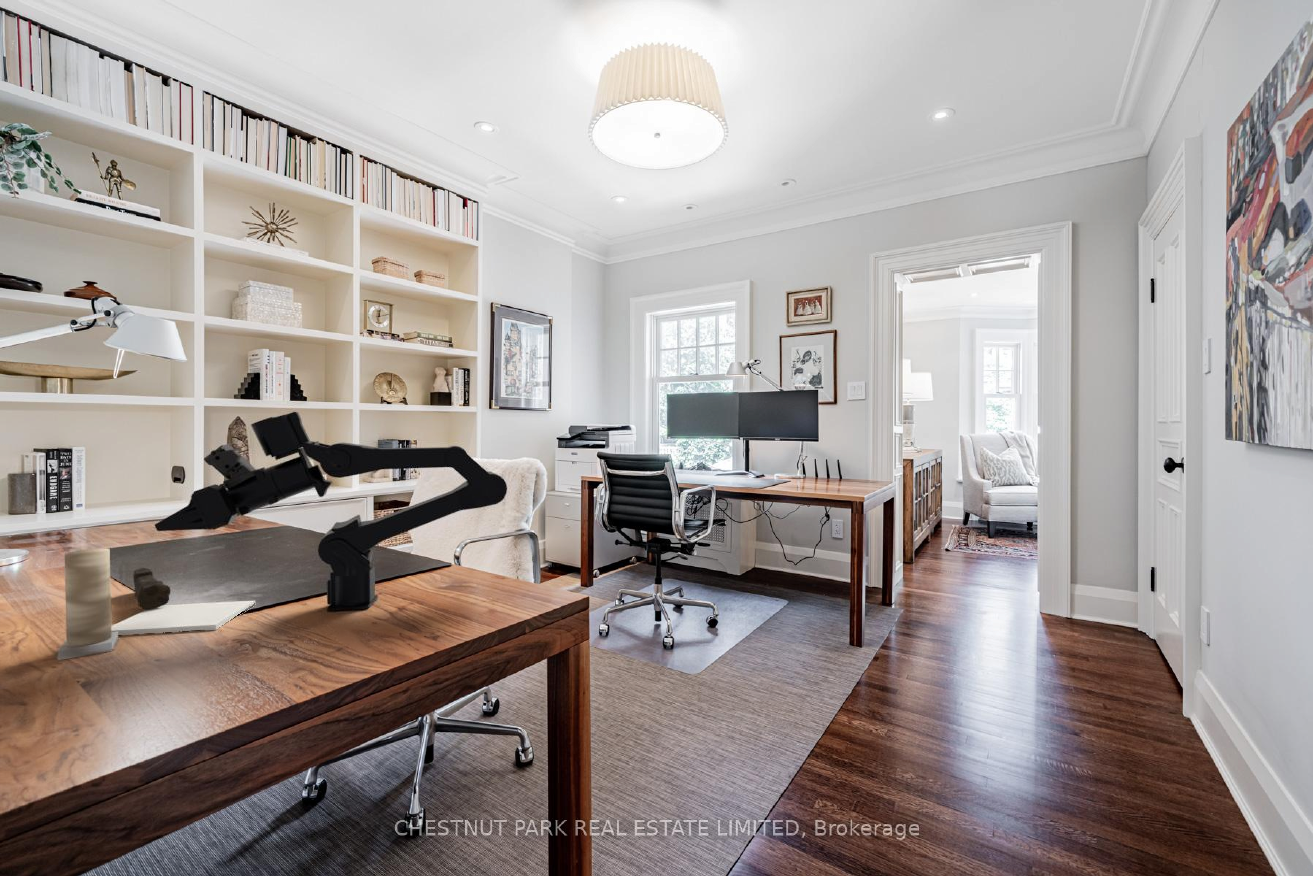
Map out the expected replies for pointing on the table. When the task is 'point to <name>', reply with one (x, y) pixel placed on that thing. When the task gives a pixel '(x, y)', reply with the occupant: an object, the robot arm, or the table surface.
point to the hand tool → (149, 590)
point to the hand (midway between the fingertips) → (168, 523)
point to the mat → (181, 618)
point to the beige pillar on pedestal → (87, 604)
